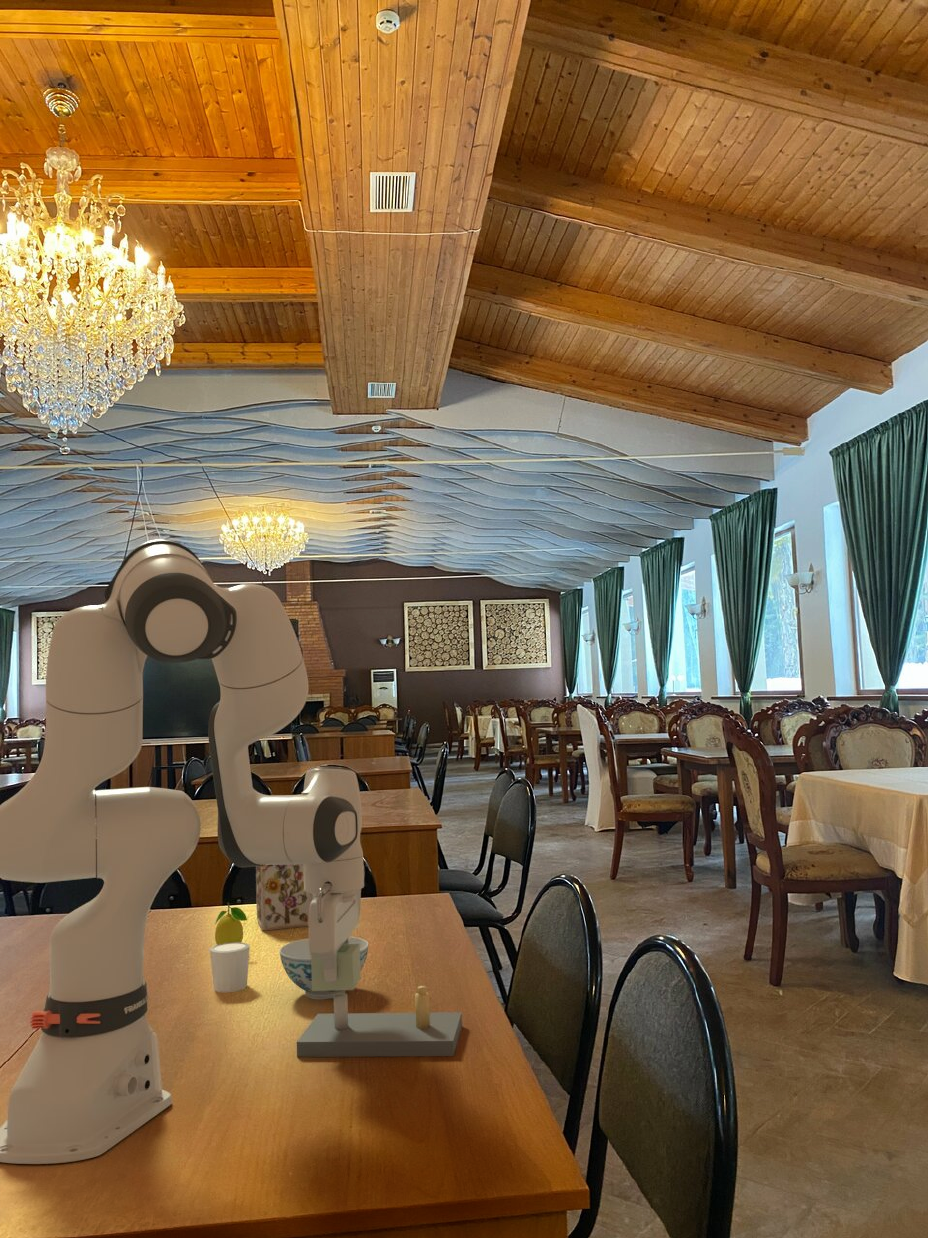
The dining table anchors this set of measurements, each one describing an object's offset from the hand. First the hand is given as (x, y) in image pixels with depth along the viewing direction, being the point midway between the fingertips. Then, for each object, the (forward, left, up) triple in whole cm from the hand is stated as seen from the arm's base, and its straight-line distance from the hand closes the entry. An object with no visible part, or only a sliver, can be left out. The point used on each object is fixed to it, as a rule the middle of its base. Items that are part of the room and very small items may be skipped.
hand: (336, 973), depth 140 cm
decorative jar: (+75, +29, -10) cm, 81 cm away
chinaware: (+23, +7, -10) cm, 26 cm away
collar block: (0, 0, -2) cm, 2 cm away
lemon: (+50, +33, -10) cm, 61 cm away
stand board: (0, -7, -10) cm, 12 cm away
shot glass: (+27, +25, -10) cm, 38 cm away
